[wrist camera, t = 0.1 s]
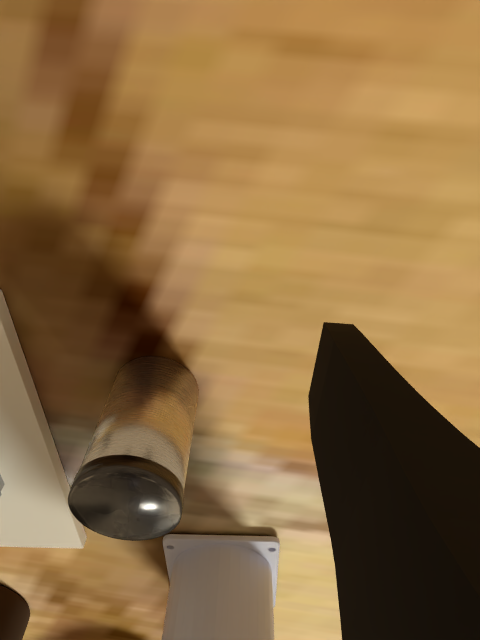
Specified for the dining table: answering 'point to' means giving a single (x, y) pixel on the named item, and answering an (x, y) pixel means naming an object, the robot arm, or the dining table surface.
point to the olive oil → (12, 615)
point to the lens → (138, 453)
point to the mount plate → (29, 459)
